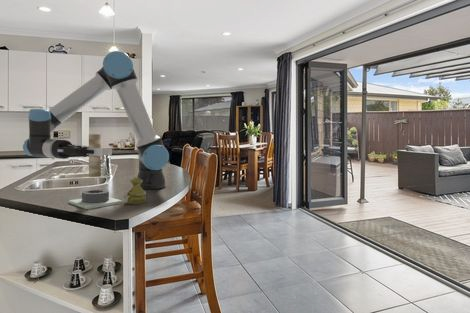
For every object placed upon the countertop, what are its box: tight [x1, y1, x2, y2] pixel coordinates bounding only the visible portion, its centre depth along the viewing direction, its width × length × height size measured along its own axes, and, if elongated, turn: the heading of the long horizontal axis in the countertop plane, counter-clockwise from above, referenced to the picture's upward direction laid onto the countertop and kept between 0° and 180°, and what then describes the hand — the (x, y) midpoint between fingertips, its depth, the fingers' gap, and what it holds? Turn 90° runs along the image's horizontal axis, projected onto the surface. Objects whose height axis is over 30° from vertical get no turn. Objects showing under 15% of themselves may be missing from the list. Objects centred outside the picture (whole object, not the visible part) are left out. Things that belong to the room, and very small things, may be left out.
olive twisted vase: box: [125, 176, 147, 205], centre depth 126 cm, size 7×7×10 cm
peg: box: [88, 133, 102, 178], centre depth 122 cm, size 4×4×16 cm
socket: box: [68, 189, 123, 210], centre depth 123 cm, size 14×14×4 cm
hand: (106, 152), depth 120 cm, fingers closed on peg, 4 cm apart
